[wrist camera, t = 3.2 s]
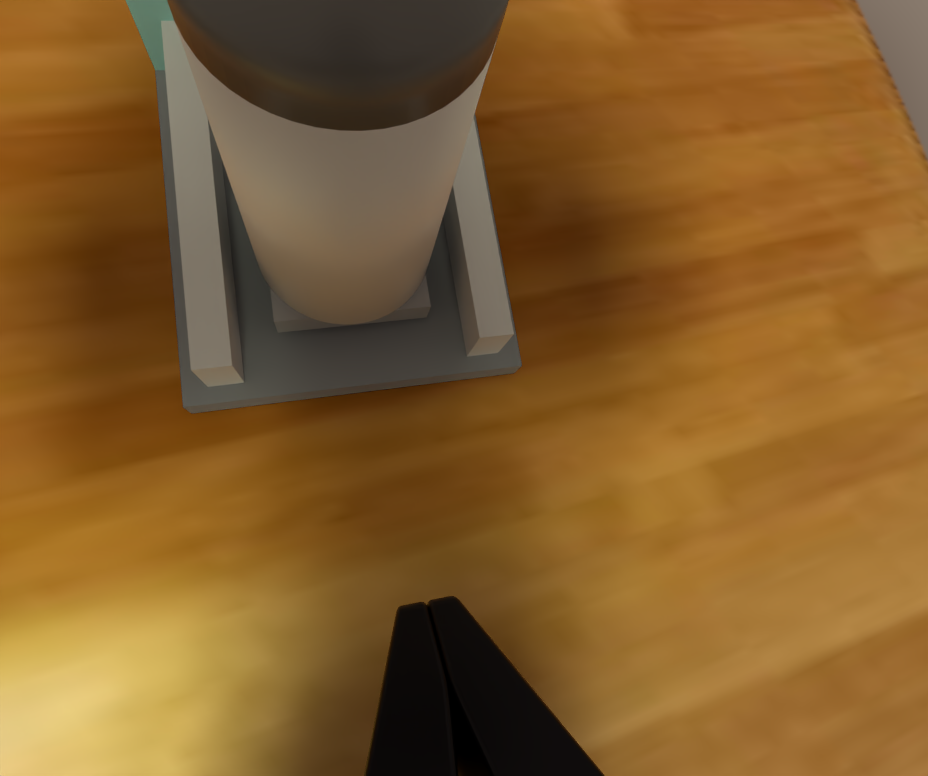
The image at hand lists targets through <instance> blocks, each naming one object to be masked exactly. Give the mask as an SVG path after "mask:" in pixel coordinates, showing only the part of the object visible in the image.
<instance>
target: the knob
mask: <svg viewBox="0 0 928 776" xmlns="http://www.w3.org/2000/svg"><path fill="white" fill-rule="evenodd" d="M167 1H168V4H169V7H170V10H171V13H172V16H173V19H174V21H175V24H176V27H177V30H178V33H179V36H180V39H181V42H182V45H183V48H184V51H185V53H186V56H187V59H188V62H189V65H190V68H191V71H192V74H193V77H194V80H195V82H196V85H197V88H198V91H199V94H200V97H201V100H202V103H203V106H204V109H205V111H206V114H207V117H208V120H209V123H210V126H211V129H212V132H213V135H214V138H215V141H216V143H217V146H218V149H219V152H220V155H221V158H222V161H223V164H224V167H225V170H226V172H227V175H228V178H229V181H230V184H231V187H232V190H233V193H234V196H235V199H236V201H237V204H238V207H239V210H240V213H241V216H242V219H243V222H244V225H245V228H246V231H247V233H248V236H249V239H250V242H251V245H252V248H253V251H254V254H255V257H256V260H257V262H258V265H259V268H260V271H261V273H262V275H263V277H264V279H265V281H266V282H267V283H268V285H269V286H270V291H271V300H272V309H273V318H274V323H275V326H276V329H277V332H278V333H280V332H290V331H300V330H310V329H319V328H329V327H339V326H349V325H358V324H368V323H378V322H388V321H397V320H407V319H417V318H426V317H427V315H428V313H429V310H430V307H431V305H430V298H429V292H428V286H427V280H426V274H425V273H426V270H427V268H428V264H429V261H430V258H431V255H432V251H433V248H434V245H435V241H436V238H437V235H438V232H439V228H440V225H441V222H442V218H443V215H444V212H445V209H446V205H447V202H448V199H449V195H450V192H451V189H452V186H453V182H454V179H455V176H456V172H457V169H458V166H459V163H460V159H461V156H462V153H463V149H464V146H465V143H466V139H467V136H468V133H469V130H470V126H471V123H472V120H473V116H474V113H475V110H476V107H477V103H478V100H479V97H480V93H481V90H482V87H483V84H484V80H485V77H486V74H487V70H488V67H489V64H490V61H491V57H492V54H493V51H494V47H495V44H496V41H497V38H498V34H499V31H500V28H501V24H502V21H503V18H504V15H505V11H506V8H507V5H508V1H509V0H167Z"/></svg>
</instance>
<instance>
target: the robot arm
mask: <svg viewBox="0 0 928 776" xmlns="http://www.w3.org/2000/svg"><path fill="white" fill-rule="evenodd" d="M364 776H605V775H604V774H603V773H602V772H601V771H600V769H599V768H598V767H597V766H596V765H595V763H594V762H593V761H592V760H591V759H590V757H589V756H588V755H587V754H586V753H585V751H584V750H583V749H582V748H581V747H580V745H579V744H578V743H577V742H576V740H575V739H574V738H573V737H572V736H571V734H570V733H569V732H568V731H567V730H566V728H565V727H564V726H563V725H562V724H561V722H560V721H559V720H558V719H557V718H556V716H555V715H554V714H553V713H552V712H551V710H550V709H549V708H548V707H547V705H546V704H545V703H544V702H543V701H542V699H541V698H540V697H539V696H538V695H537V693H536V692H535V691H534V690H533V689H532V687H531V686H530V685H529V684H528V683H527V681H526V680H525V679H524V678H523V677H522V675H521V674H520V673H519V672H518V670H517V669H516V668H515V667H514V666H513V664H512V663H511V662H510V661H509V660H508V658H507V657H506V656H505V655H504V654H503V652H502V651H501V650H500V649H499V648H498V646H497V645H496V644H495V643H494V642H493V640H492V639H491V638H490V637H489V635H488V634H487V633H486V632H485V631H484V629H483V628H482V627H481V626H480V625H479V623H478V622H477V621H476V620H475V619H474V617H473V616H472V615H471V614H470V613H469V611H468V610H467V609H466V608H465V607H464V605H463V604H462V603H461V602H460V601H459V600H458V599H457V598H456V597H454V596H449V597H444V598H439V599H433V600H430V601H429V602H428V604H427V605H426V604H425V603H424V602H418V603H413V604H408V605H403V606H400V607H399V608H398V610H397V612H396V617H395V622H394V627H393V632H392V637H391V642H390V647H389V652H388V657H387V663H386V668H385V673H384V678H383V683H382V688H381V693H380V698H379V703H378V708H377V713H376V718H375V723H374V728H373V733H372V738H371V743H370V748H369V753H368V759H367V764H366V769H365V774H364Z"/></svg>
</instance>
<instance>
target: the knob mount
mask: <svg viewBox="0 0 928 776" xmlns="http://www.w3.org/2000/svg"><path fill="white" fill-rule="evenodd" d="M126 2H127V5H128V7H129V9H130V12H131V14H132V16H133V19H134V21H135V24H136V26H137V28H138V31H139V33H140V35H141V38H142V40H143V42H144V45H145V47H146V49H147V52H148V54H149V57H150V59H151V61H152V64H153V66H154V68H155V73H156V85H157V97H158V109H159V121H160V133H161V145H162V157H163V169H164V182H165V194H166V206H167V218H168V230H169V242H170V254H171V266H172V278H173V291H174V303H175V315H176V327H177V339H178V351H179V363H180V375H181V387H182V400H183V408H185V409H186V410H188V411H189V412H190V413H199V412H207V411H215V410H223V409H231V408H239V407H247V406H255V405H263V404H271V403H279V402H287V401H295V400H303V399H311V398H319V397H327V396H335V395H343V394H351V393H359V392H367V391H375V390H383V389H392V388H400V387H408V386H416V385H424V384H432V383H440V382H448V381H456V380H464V379H472V378H480V377H488V376H496V375H504V374H512V373H515V372H516V371H517V370H518V369H519V368H520V367H521V366H522V363H521V358H520V352H519V347H518V342H517V336H516V331H515V325H514V320H513V315H512V309H511V304H510V299H509V293H508V288H507V283H506V277H505V272H504V266H503V261H502V256H501V250H500V245H499V240H498V234H497V229H496V224H495V218H494V213H493V208H492V202H491V197H490V191H489V186H488V181H487V175H486V170H485V165H484V159H483V154H482V149H481V143H480V138H479V132H478V127H477V122H476V116H475V113H474V116H473V120H472V123H471V126H470V130H469V133H468V136H467V139H466V143H465V146H464V149H463V153H462V156H461V159H460V163H459V166H458V169H457V172H456V176H455V179H454V182H453V186H452V189H451V192H450V195H449V199H448V202H447V205H446V209H445V212H444V215H443V218H442V222H441V225H440V228H439V232H438V235H437V238H436V241H435V245H434V248H433V251H432V255H431V258H430V261H429V264H428V268H427V270H426V273H425V274H426V280H427V286H428V292H429V298H430V305H431V307H430V310H429V313H428V315H427V317H426V318H417V319H407V320H397V321H388V322H378V323H368V324H358V325H349V326H339V327H329V328H319V329H310V330H300V331H290V332H280V333H278V332H277V329H276V326H275V323H274V318H273V309H272V300H271V291H270V286H269V285H268V283H267V282H266V281H265V279H264V277H263V275H262V273H261V271H260V268H259V265H258V262H257V260H256V257H255V254H254V251H253V248H252V245H251V242H250V239H249V236H248V233H247V231H246V228H245V225H244V222H243V219H242V216H241V213H240V210H239V207H238V204H237V201H236V199H235V196H234V193H233V190H232V187H231V184H230V181H229V178H228V175H227V172H226V170H225V167H224V164H223V161H222V158H221V155H220V152H219V149H218V146H217V143H216V141H215V138H214V135H213V132H212V129H211V126H210V123H209V120H208V117H207V114H206V111H205V109H204V106H203V103H202V100H201V97H200V94H199V91H198V88H197V85H196V82H195V80H194V77H193V74H192V71H191V68H190V65H189V62H188V59H187V56H186V53H185V51H184V48H183V45H182V42H181V39H180V36H179V33H178V30H177V27H176V24H175V21H174V19H173V16H172V13H171V10H170V7H169V4H168V1H167V0H126Z"/></svg>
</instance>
